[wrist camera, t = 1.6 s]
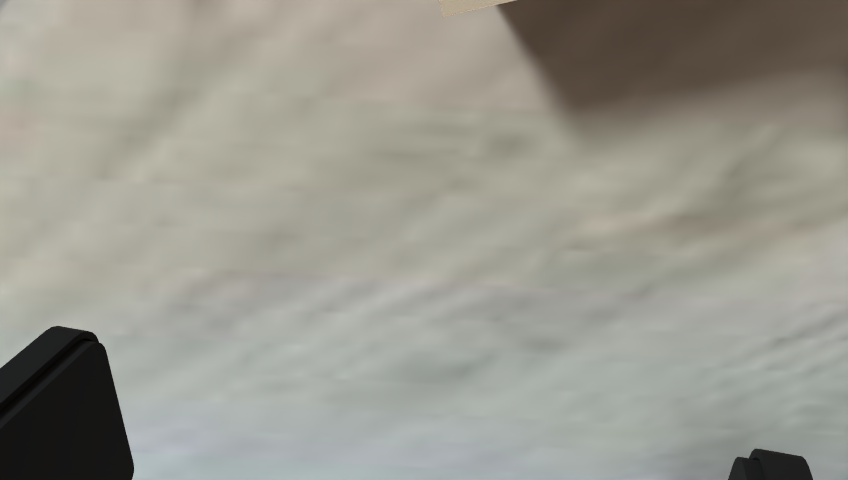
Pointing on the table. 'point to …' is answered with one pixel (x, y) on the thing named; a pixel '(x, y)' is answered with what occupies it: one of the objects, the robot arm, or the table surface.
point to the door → (466, 5)
